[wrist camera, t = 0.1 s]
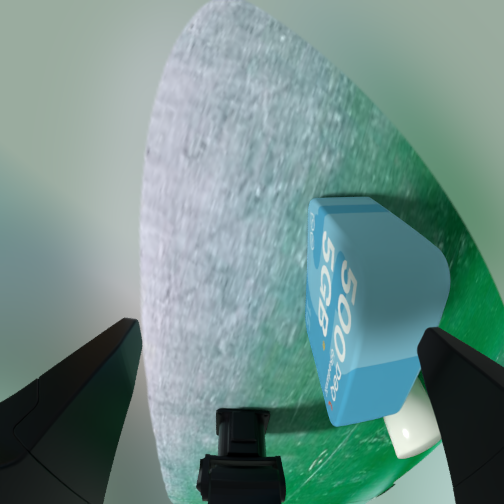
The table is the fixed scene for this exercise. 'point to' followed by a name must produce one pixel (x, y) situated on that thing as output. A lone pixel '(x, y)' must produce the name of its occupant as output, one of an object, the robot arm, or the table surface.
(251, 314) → the table surface
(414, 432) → the white rounded cylinder
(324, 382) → the light blue rounded block
